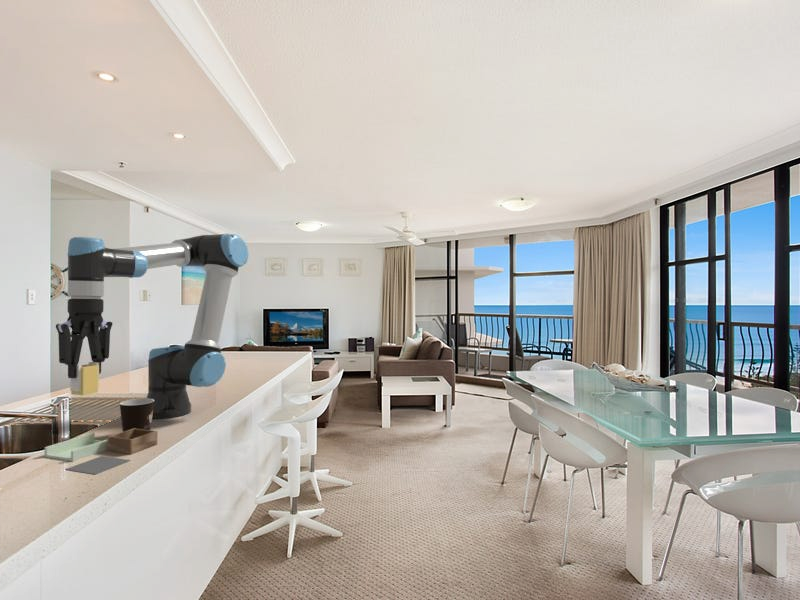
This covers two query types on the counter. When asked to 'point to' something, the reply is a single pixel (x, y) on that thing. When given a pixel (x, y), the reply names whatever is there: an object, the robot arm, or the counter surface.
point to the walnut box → (132, 441)
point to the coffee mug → (136, 413)
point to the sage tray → (76, 448)
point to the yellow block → (88, 380)
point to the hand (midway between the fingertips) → (84, 388)
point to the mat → (97, 465)
